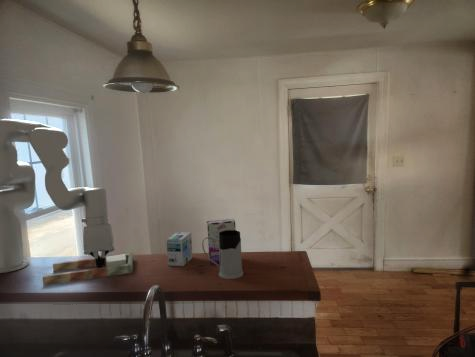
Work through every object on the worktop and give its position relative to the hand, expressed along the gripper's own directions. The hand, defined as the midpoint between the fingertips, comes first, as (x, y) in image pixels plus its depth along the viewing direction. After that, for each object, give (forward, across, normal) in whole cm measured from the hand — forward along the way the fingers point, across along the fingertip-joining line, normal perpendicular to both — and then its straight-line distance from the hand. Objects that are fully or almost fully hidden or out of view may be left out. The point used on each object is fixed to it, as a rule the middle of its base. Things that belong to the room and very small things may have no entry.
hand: (100, 267), depth 116 cm
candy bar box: (+2, +46, -8) cm, 47 cm away
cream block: (+2, +5, +2) cm, 6 cm away
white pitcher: (+2, +43, -21) cm, 48 cm away
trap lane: (+1, -3, 0) cm, 3 cm away
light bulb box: (+2, +30, -2) cm, 30 cm away
